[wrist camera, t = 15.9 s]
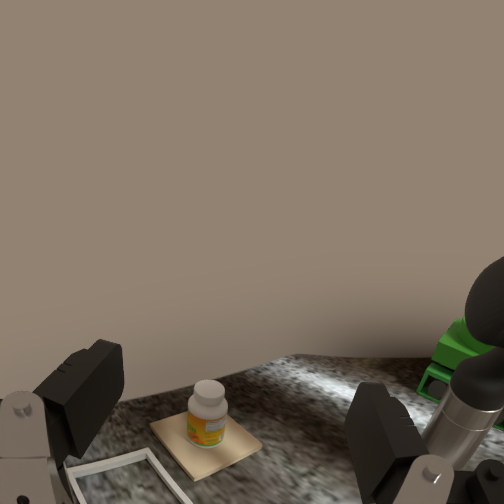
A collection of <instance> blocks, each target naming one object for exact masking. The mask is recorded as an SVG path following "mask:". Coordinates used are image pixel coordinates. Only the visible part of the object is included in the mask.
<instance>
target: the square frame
mask: <svg viewBox="0 0 504 504" xmlns="http://www.w3.org/2000/svg"><path fill="white" fill-rule="evenodd" d="M144 459H147V460H148V461H149V463H150V464H151V465H152V467H153V468H154V470H155V471H156V472H157V474H158V475H159V476H160V477H161V479H162V480H163V481H164V483H165V484H166V485H167V487H168V488H169V489H170V490H171V492H172V493H173V494H174V495H175V496H176V498H177V499H178V500H179V501H180V502H181V504H193V503H192V502H191V500H190V499H189V498H188V497H187V496H186V495H185V494H184V492H183V491H182V490H181V489H180V488H179V486H178V485H177V484H176V483H175V482H174V480H173V479H172V478H171V477H170V475H169V474H168V473H167V472H166V470H165V469H164V468H163V467H162V465H161V464H160V463H159V461H158V460H157V459H156V457H155V456H154V455H153V453H152V452H151V450H150V449H149V448H144V449H141V450H138V451H135V452H131V453H128V454H124V455H121V456H117V457H113V458H110V459H106V460H102V461H98V462H94V463H90V464H85V465H81V466H76V467H72V468H67V472H68V476H69V480H70V483H71V485H72V487H73V489H74V491H75V494H76V496H77V498H78V500H79V502H80V504H87V503H86V501H85V499H84V497H83V495H82V493H81V491H80V489H79V487H78V484H77V482H76V480H75V478H77V477H81V476H86V475H90V474H94V473H98V472H102V471H106V470H110V469H113V468H117V467H120V466H124V465H127V464H131V463H134V462H137V461H140V460H144Z"/></svg>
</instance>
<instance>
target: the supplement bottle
mask: <svg viewBox="0 0 504 504" xmlns="http://www.w3.org/2000/svg"><path fill="white" fill-rule="evenodd" d="M224 394H225V389H224V386H223V385H222V384H221V383H219V382H217V381H214V380H202V381H199V382H197V383H196V384H195V386H194V394H193V395H192V396H191V397H190V398H189V401H188V417H187V437H188V439H189V441H190V442H191V443H192V444H194V445H195V446H197V447H200V448H213V447H216V446H218V445H219V444H220V443H221V442H222V441H223V438H224V432H225V425H226V418H227V411H228V404H227V401H226V399H225V398H224Z"/></svg>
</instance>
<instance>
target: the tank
mask: <svg viewBox="0 0 504 504" xmlns="http://www.w3.org/2000/svg"><path fill="white" fill-rule="evenodd" d="M494 347H495V346H491V345H486V344H484V343H481V342H479V341H477V340H476V339H475V338H473V337H472V336H471V334H470V333H469V331H468V329H467V326H466V322H465V315H464V316H463V318H462V320H460V319H458V318H457V319H456V320H455V321H454V322H453V324H452V325H451V326H450V328H449V329H448V330H447V332H446V333H445V334H444V335H443V337H442V338H441V339H440V340H439V342H438V344H437V347H436V349H435V352H434V354H433V356H432V359H431V360H434V361H436V362H438V363H440V365H443V366H445V367H448V368H450V369H452V370H455V369H456V367H457V365H458V364H459V363H460V362H461V361H462V360H464V359H466V358H469V357H473V356H477V355H480V354H483V353H486V352H488V351H489V350H491V349H493V348H494ZM453 373H454V372H452V371H450V370H448V369H446V368H443V367H441V366H439V365H437V364H434V363H431V364H430V365H429V367H428V368H427V369H426V371H425V373H424V376H423V378H422V380H421V382H420V384H419V386H418V388H417V390H416V392H417V393H418V395H420V396H422V397H425V398H427V399H429V400H431V401H434V402H436V403H438V404H439V402H440V400H441V398H442V396H443V394H444V392H445V390H446V388H447V386H448V384H449V382H450V380H451V377H452V375H453ZM429 376H432V377H434V380H433V381H432V382H431V384H430V385H429V386H427V385H426V383H427V381H428V378H429ZM492 427H495V428H497V429H500V430H502V431H504V407H503V409H502V411H501V412H500V414H499V416H498V417H497V419H496V421H495V422H494V424H493V426H492Z"/></svg>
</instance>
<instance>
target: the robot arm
mask: <svg viewBox="0 0 504 504" xmlns="http://www.w3.org/2000/svg"><path fill="white" fill-rule="evenodd" d="M465 322H466V326H467V329H468V331H469V333H470V334H471V336H472V337H473V338H475V339H476V340H477V341H479V342H481V343H484V344H486V345H491V346H495V347H494V348H493V349H491V350H489V351H488V352H486V353H483V354H480V355H477V356H473V357H469V358H466V359H464V360H462V361H461V362H460V363H459V364H458V365H457V367H456V369H455V371H454V373H453V375H452V377H451V380H450V382H449V384H448V386H447V388H446V390H445V392H444V394H443V396H442V398H441V400H440V402H439V404H438V406H437V408H436V410H435V411H434V413H433V415H432V417H431V419H430V421H429V422H428V424H427V426H426V428H425V429H424V431H423V433H422V434H421V436H420V434H419V432H418V430H417V428H416V426H414V422H413V421H412V419H411V418H410V415H409V413H408V411H407V409H406V407H405V406H404V405H403V404H402V403H401V402H400V401H399V400H398V399H396V398H395V397H390V395H389V393H388V391H387V389H386V387H385V385H384V384H383V383H374V382H361V383H360V384H359V386H358V388H357V390H356V393H355V396H354V398H353V401H352V403H351V406H350V408H349V410H348V413H347V415H346V419H345V426H344V429H345V435H346V439H347V442H348V446H349V450H350V454H351V458H352V462H353V466H354V470H355V474H356V478H357V482H358V486H359V490H360V495H361V499H362V503H363V504H372V503H376V504H504V464H503V463H501V462H499V461H497V460H493V459H488V460H484V461H482V462H481V463H480V464H479V465H478V466H477V467H476V469H475V470H474V471H461V470H462V468H463V467H464V466H465V465H466V463H467V462H468V461H469V459H470V458H471V457H472V455H473V454H474V452H475V451H476V450H477V448H478V447H479V445H480V444H481V442H482V441H483V440H484V438H485V437H486V435H487V433H488V432H489V430H490V429H491V427H492V426H493V424H494V422H495V421H496V419H497V417H498V416H499V414H500V412H501V411H502V409H503V407H504V257H502V258H501V259H499V260H497V261H495V262H493V263H492V264H490V265H489V266H488V267H487V268H485V269H484V270H483V272H482V273H481V274H480V275H479V276H478V278H477V279H476V280H475V282H474V284H473V286H472V288H471V290H470V292H469V295H468V298H467V301H466V305H465ZM123 388H124V371H123V358H122V347H121V345H120V344H116V343H113V342H109V341H106V340H102V339H99V340H97V341H96V342H95V343H94V344H93V345H92V346H91V347H90V348H89V349H88V350H87V349H82V350H80V351H78V352H75V353H73V354H71V355H70V356H69V357H68V358H67V359H66V360H65V361H64V362H63V364H61V365H60V366H59V367H58V368H57V370H54V371H53V372H52V373H51V374H50V375H49V376H48V377H47V378H46V379H45V380H44V381H43V382H42V383H41V384H40V385H39V386H38V387H37V388H36V389H35V390H34V391H33V392H32V393H31V392H27V391H17V392H14V393H11V394H9V395H8V396H6V397H5V398H4V399H0V504H76V501H75V498H74V495H73V491H72V488H71V484H70V480H69V476H68V472H67V468H66V464H65V462H64V460H65V459H66V457H67V456H68V454H69V455H71V456H74V457H76V458H78V459H81V458H82V456H83V455H84V453H85V452H86V450H87V448H88V447H89V445H90V444H91V442H92V441H93V439H94V437H95V436H96V434H97V433H98V431H99V430H100V428H101V426H102V425H103V423H104V422H105V420H106V419H107V417H108V416H109V414H110V413H111V411H112V409H113V408H114V406H115V405H116V403H117V402H118V400H119V399H120V397H121V395H122V392H123Z"/></svg>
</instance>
